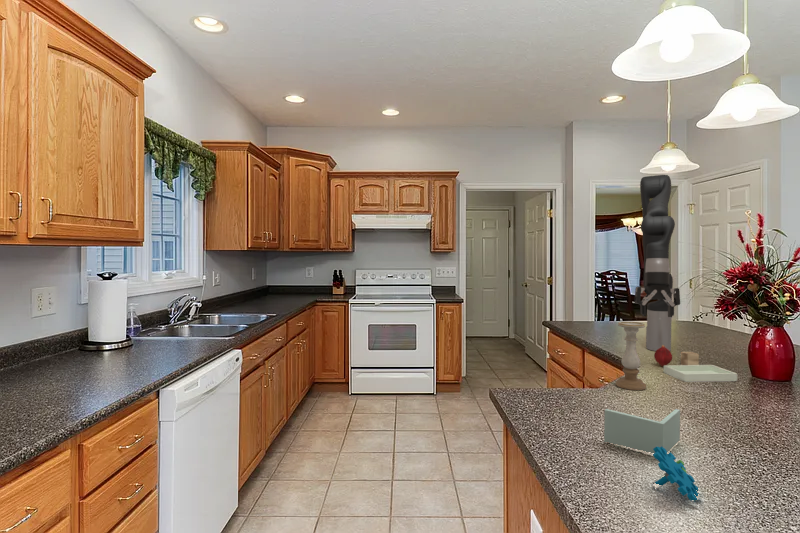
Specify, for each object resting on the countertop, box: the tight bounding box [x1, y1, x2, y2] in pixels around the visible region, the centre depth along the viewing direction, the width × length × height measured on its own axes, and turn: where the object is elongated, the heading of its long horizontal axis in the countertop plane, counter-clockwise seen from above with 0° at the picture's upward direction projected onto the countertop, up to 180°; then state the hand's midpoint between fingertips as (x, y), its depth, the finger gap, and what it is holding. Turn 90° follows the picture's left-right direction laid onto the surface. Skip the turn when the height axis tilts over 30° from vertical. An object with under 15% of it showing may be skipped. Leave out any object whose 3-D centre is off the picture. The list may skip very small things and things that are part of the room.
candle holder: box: [615, 321, 647, 391], centre depth 145 cm, size 9×9×20 cm
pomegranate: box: [654, 345, 673, 367], centre depth 170 cm, size 6×6×8 cm
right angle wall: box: [603, 408, 681, 453], centre depth 103 cm, size 12×12×8 cm
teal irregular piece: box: [653, 446, 699, 501], centre depth 83 cm, size 11×6×10 cm
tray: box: [663, 364, 738, 383], centre depth 156 cm, size 12×18×2 cm, turn 91°
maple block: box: [680, 351, 700, 365], centre depth 170 cm, size 4×4×5 cm
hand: (656, 316), depth 163 cm, fingers open, 8 cm apart
